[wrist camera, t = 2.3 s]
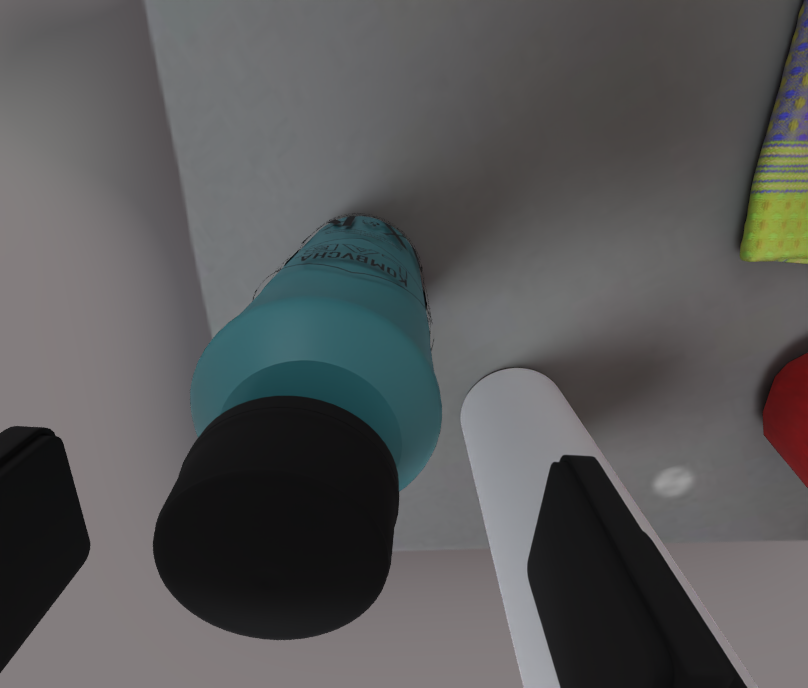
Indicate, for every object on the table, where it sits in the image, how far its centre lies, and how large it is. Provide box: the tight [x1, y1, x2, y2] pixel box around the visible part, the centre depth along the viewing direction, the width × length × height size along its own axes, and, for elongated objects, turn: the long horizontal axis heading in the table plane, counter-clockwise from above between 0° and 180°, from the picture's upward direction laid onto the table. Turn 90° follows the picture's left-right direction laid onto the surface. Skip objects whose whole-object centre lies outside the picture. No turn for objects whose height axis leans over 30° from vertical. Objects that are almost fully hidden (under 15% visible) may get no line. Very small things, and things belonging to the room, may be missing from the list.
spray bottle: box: [461, 368, 759, 688], centre depth 18 cm, size 7×7×25 cm
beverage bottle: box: [153, 213, 442, 640], centre depth 16 cm, size 6×7×20 cm
